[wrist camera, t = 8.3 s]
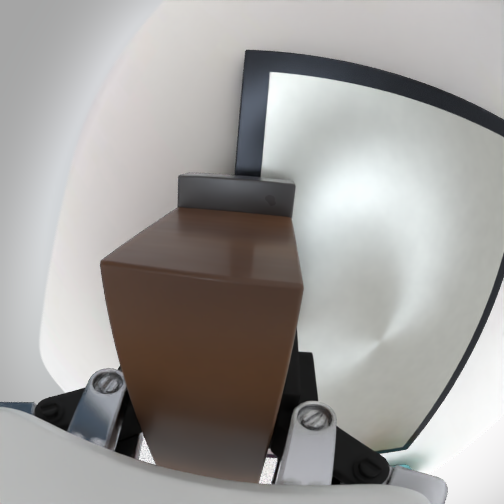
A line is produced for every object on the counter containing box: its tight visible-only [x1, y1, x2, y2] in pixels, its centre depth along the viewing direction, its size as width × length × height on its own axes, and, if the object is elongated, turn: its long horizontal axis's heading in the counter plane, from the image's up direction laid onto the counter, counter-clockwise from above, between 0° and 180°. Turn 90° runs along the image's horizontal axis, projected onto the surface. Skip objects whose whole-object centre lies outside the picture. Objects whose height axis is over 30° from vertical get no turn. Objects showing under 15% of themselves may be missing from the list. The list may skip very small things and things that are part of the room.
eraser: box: [100, 173, 304, 483], centre depth 9 cm, size 13×4×6 cm, turn 175°
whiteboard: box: [235, 50, 504, 458], centre depth 13 cm, size 24×15×1 cm, turn 175°
